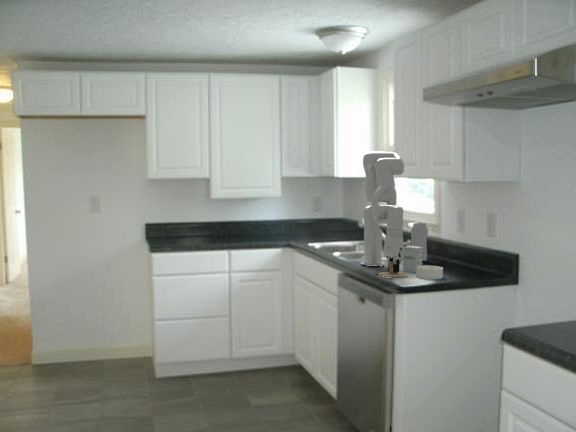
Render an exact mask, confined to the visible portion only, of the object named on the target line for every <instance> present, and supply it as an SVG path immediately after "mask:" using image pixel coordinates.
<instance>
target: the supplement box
mask: <svg viewBox="0 0 576 432" xmlns="http://www.w3.org/2000/svg"><path fill="white" fill-rule="evenodd" d="M422 257H423V247H417V246H412V245H406V246H404V254H403V258H404V259H403V260H402V271H403V272H409V273H416V270H417V266H423V262H422Z"/></svg>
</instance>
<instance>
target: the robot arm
mask: <svg viewBox="0 0 576 432" xmlns="http://www.w3.org/2000/svg"><path fill="white" fill-rule="evenodd" d="M362 164H363V170H364V173H365V198H366V201H367V202H368V203H370V205H368V206H365V207H364V208H363V210H362V218H363V227H364V228H363V256H361V257H360V259H361V260H362V261H360V265H361V264H365V265H377V266H380V265H384V266H385V262H383V261H382V259H383V256H384V257H386V260H387V264H388V265H387V268H388V269H387V270H388V271H387V272H389V261H394V264H393V272H394V273H396V272H400V264H401V262H403V259H404V258H403V254H404V247H405V246H404V238H403V237H404V207H401V206H399V205H397V199H398V198H397V189H396V188H395V187H396V183H395V176H401V175H403V174H404V172H405V163H404V160H403V159H402V158H401V157H400V155H398V153H396V152H394V151H393V152H392V151H370V152H366V153H365V154H364V155H363V157H362ZM380 204H382V205H380ZM381 224H382V225H386V235H385V237H384V244H383V230H382V229H381V227H380V226H379V225H381ZM383 245H384V246H383ZM382 255H383V256H382ZM380 267H381V266H380Z"/></svg>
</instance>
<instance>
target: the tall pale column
mask: <svg viewBox="0 0 576 432" xmlns="http://www.w3.org/2000/svg"><path fill="white" fill-rule="evenodd" d="M428 234H429V229H428V227H427V223H426V222H421V221H420V222H414V223H413V224H412V228H410V235H411V246H417V247H423V257H422V261H426V260H427V255H428V247H427V239H428ZM426 262H427V261H426Z"/></svg>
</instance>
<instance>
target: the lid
mask: <svg viewBox="0 0 576 432" xmlns="http://www.w3.org/2000/svg"><path fill="white" fill-rule="evenodd" d="M393 264H394V261H389V271H381V272H378V274H379V275H380V276H384V277H391V278H400V279H407V278H406V277H408V276H409V274H408V273H406V272H402V271H399V272H396V273H394V272H393ZM380 276H379V277H380ZM384 277H383V278H384Z"/></svg>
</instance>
